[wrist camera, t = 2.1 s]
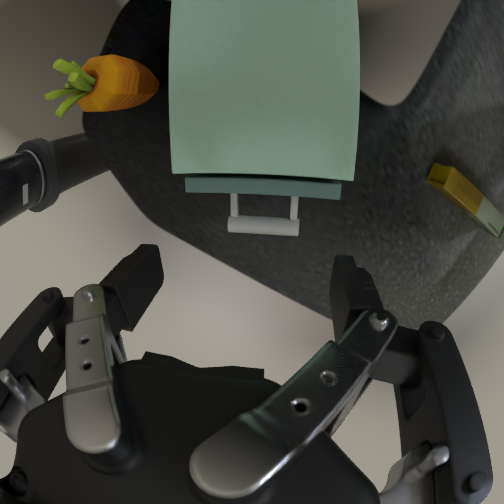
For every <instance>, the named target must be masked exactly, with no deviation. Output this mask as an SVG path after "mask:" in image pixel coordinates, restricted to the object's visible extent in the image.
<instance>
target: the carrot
mask: <svg viewBox="0 0 504 504" xmlns="http://www.w3.org/2000/svg"><path fill="white" fill-rule="evenodd" d="M52 67H53V68H54V69H56V70H58V71H59V72H61V73H64V74H66V75H68V76H69V77H68V81H67V82H66V83H65V87H66V88H65V89H59V90H55V91H52V92H49V93H47V94H45V98H46V100H47V101H49V100H52V99H54V98H57V97H61V96H64V95H68V94H72V93H73V95H72V96H71V97H69V98H68V99H66V100H65V101H64V102H63V103H62V104H61V105H60V106H59V107H58V109H57V111H56V112H55V115H56V116H57V117H60V118H61V117H62V115H63V114H64V113H65V112H66V111H67V110H68V109H69V108H70V107H71V106H72V105H73V104H74V103H76V102H77V103H78V104H79V106H80V107H81V109H82V110H83V111H85V112H99V111H113V110H120V109H126V108H132V107H134V106H137V105H140V104H142V103H144V102H146V101H147V100H149V99H150V98H151V97H152V96H153V95H154V94H156V93H157V92H158V90H159V81H158V80H157V78H156V77H155V76H154V74H153V73H152V72H151V71H150V70H149V69H148V68H147V67H145V66H144V65H142V64H141V63H139V62H137V61H134V60H131V59H128V58H125V57H121V56H117V55H106V56H99V57H93V58H90V59H89V60H88V61H87V62H86V63H85V65H84V66H83V67H82V68H80V67H79V66H78V64H77V63H76V62H74V61H72V62H71V63H69V62H67V61H65V60H62V59H58V60H57V61H56V62H55V63H54V65H53V66H52Z"/></svg>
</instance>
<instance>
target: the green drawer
mask: <svg viewBox="0 0 504 504" xmlns="http://www.w3.org/2000/svg"><path fill="white" fill-rule="evenodd" d="M341 187H342V185H341V183H340V182H339V180H338V179H328V178H316V177H303V176H288V175H270V174H242V173H191V174H190V175H188V176H187V177H185V188H186V192H194V193H230V201H231V215H229V218H228V231H229V232H238V233H255V234H271V235H287V236H298V233H299V219H297V212H298V198H299V197H311V198H323V199H335V200H340V195H341ZM238 193H239V194H263V195H281V196H291V206H290V218H280V217H263V216H244V215H238V214H239V199H238Z"/></svg>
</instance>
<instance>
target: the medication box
mask: <svg viewBox="0 0 504 504" xmlns="http://www.w3.org/2000/svg"><path fill="white" fill-rule="evenodd" d="M426 182H427V183H428V184H430V185H431V186H432V187H433V188H435V189H436V190H437V191H438V192H440V193H441V194H442V195H443V196H445V197H446V198H447V199H448V200H449V201H451V202H452V203H453V204H454V205H455V206H457V207H458V208H459V209H460V210H461V211H462V212H463V213H464V214H466V215H467V216H468V217H469V218H470V219H471V220H472V221H473V222H474V223H475V224H476V225H478V226H479V227H480V228H481V229H483V230H484V231H486V232H487V233H489V234H491V235H493V236H495V237H497V238H500V237H501V235H502V233H503V231H504V217H503V216H502V215H501V214H500V213H499V211H498V210H497V209H496V208H495V207H494V206H493V205H492V204H491V203H490V201H489V200H488V199H487V198H486V197H485V196H484V195H483V194H482V193H481V192H480V191H479V190H478V189H477V188H476V187H475V186H474V185H473V184H472V183H471V182H470V181H469V180H468V179H467V178H466V177H465V176H463V175H462V174H461V173H460V172H459V171H458V170H457V169H456V168H455V167H453V166H449V165H445V164H440V163H434V164H433V166H432V168H431V170H430V172H429V175H428V177H427V180H426Z"/></svg>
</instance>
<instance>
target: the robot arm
mask: <svg viewBox="0 0 504 504" xmlns="http://www.w3.org/2000/svg"><path fill="white" fill-rule="evenodd" d="M46 185H47V182H46V173H45V168H44V165H43V163H42V160H41V158H40V157H39V155H38V154H37V153H36V152H35V151H33V150H31V149H26V150H23V151H21V152H19V153H16V154H13V155H11V156H8V157H5V158H3V159H0V226H2V225H3V224H5V223H6V222H8V221H9V220H11V219H13V218H14V217H16V216H18V215H19V214H21V213H23V212H24V211H26V210H28V209H30V208H31V207H34V206H36V205H38V204H39V203H41V202H42V200H43V198H44V196H45V193H46ZM163 280H164V273H163V268H162V262H161V258H160V252H159V248H158V246H157V245H153V244H141V245H140V246H139V247H138V248H137V249H136V250H135V251H134V252H133V253H132V254H130V255H128V256H126V257H125V258H123V259H122V260H121V261H120V262H119V263H118V264H117V265H116V266H115V268H113V270H111V271H110V272H109V274H108V275H107V276H106V277H105V278H104V279H103V280H102V281H101V282H100V283H99V284H90V285H86V286H84V287H82V288H80V289H79V290H78V291H77V292H76V293H75V295H74V297H63V295H62V293H61V290H60V289H59V288H57V287H52V288H48V289H46V290H44V291H42V292H41V293H40V294H39V295H38V296H37V297H36V298H35V299H34V300H33V301H32V302H31V303H30V304H29V306H28V307H27V308H26V309H25V310H24V311H23V312H22V313H21V314H20V316H19V317H18V318H17V319H16V320H15V321H14V323H13V324H12V325H11V326H10V327H9V329H8V330H7V331H6V332H5V334H4V335H3V336H2V337H1V339H0V431H1V432H3V433H4V434H6V435H7V436H8V437H9V438H10V439H12V440H13V441H14V442H17V449H16V456H15V461H14V465H13V468H12V470H11V472H10V473H9V474H8V475H7V476H6V477H4V478H2V479H0V504H479V503H481V502H482V501H483V500H484V499H485V498H486V497H487V495H488V494H489V492H490V490H491V487H492V483H493V474H492V466H491V460H490V454H489V449H488V444H487V439H486V434H485V431H484V426H483V422H482V418H481V415H480V411H479V407H478V404H477V401H476V397H475V394H474V392H473V388H472V386H471V382H470V379H469V376H468V374H467V371H466V368H465V366H464V363H463V360H462V358H461V355H460V353H459V350H458V348H457V346H456V343H455V341H454V338H453V336H452V334H451V332H450V331H449V329H448V328H447V327H446V326H444V325H443V324H441V323H439V322H435V321H427V322H424V323H423V324H422V325H421V326H420V328H419V330H414V329H409V328H405V327H402V326H399V325H398V321H397V319H396V317H395V316H394V315H393V314H392V313H390V312H389V311H387V310H384V308H383V305H382V302H381V300H380V297H379V294H378V292H377V290H376V287H375V284H374V282H373V279H372V277H371V274H369V273H368V272H367V271H366V270H365V269H364V268H357V266H356V263H355V261H354V258H353V256H344V255H336V256H335V259H334V264H333V271H332V277H331V282H330V290H329V299H330V306H331V313H332V320H333V327H334V335H335V342H334V341H332V340H330V341H328V342H327V343H326V344H325V345H324V346H323V347H322V348H321V349H320V350H319V351H318V352H317V353H316V354H315V355H314V356H313V357H312V358H311V359H310V360H309V361H308V362H307V363H306V364H305V365H304V366H303V367H302V368H301V369H300V370H299V371H297V373H295V374H294V375H293V376H292V377H291V378H290V379H289V380H288V381H287V382H286V383H284V384H283V385H282V386H281V385H279V384H278V383H275V382H273V381H271V380H268V379H265V378H264V369H258V368H247V367H238V366H224V367H208V368H198V367H195V366H193V365H190V364H188V363H186V362H183V361H181V360H178V359H176V358H174V357H172V356H166V355H161V354H156V353H151V352H147V351H146V352H145V354H144V356H143V358H142V359H141V360H131V361H127V358H126V354H125V350H124V346H123V341H122V337H121V335H120V331H121V330H127V331H131V332H132V331H133V329H134V328H135V326H136V325H137V323H138V322H139V320H140V318H141V317H142V315H143V314H144V312H145V311H146V309H147V308H148V306H149V304H150V303H151V301H152V300H153V298H154V297H155V295H156V294H157V292H158V291H159V289H160V288H161V286H162V284H163ZM47 326H48V327H49V329H50V331H51V333H52V335H53V338H52V339H51V341H50V342H49V344H48V345H47V346H46V348H45V349H44V351H43V352H41V350H40V349H39V347H38V339H39V337H40V335H41V334H42V333H43V331H44V330H45V329H46V328H47ZM65 369H66V383H67V384H66V385H67V390H66V392H64V393H63V394H61V395H59V396H57V397H55V398H53V399H51V400H49V401H48V399H49V397H50V395H51V393H52V391H53V390H54V388H55V386H56V385H57V383H58V381H59V379H60V378H61V376H62V374H63V373H64V371H65ZM373 379H375V380H379V381H384V382H388V383H392V384H393V385H394V392H395V397H396V405H397V413H398V420H399V430H400V440H401V452H402V458H401V459H400V460H399V461H397V462H396V463H395V464H394V465H393V466H392V467H391V469H390V471H389V474H388V480H387V484H386V486H385V488H384V489H383V490H382V492H381V493H378V491H377V489H376V487H375V486H374V484H373V483H372V482H371V481H370V480H369V479H368V477H367V476H366V475H364V473H363V472H362V471H361V470H360V469H359V468H358V467H357V466H356V465H355V464H354V463H353V462H352V461H351V460H350V458H348V457H347V455H346V454H345V453H344V452H343V451H342V450H341V449H340V448H339V446H338V445H337V444H336V443H335V442H334V441H333V440H332V439H331V436H332V435H333V434H334V433H335V431H336V430H337V429H338V427H339V426H340V425H341V424H342V422H343V421H344V420H345V418H346V416H347V415H348V414H349V412H350V411H351V410H352V408H353V407H354V406H355V404H356V403H357V401H358V400H359V399H360V398H361V396H362V395H363V393H364V392H365V391H366V389H367V388H368V386H369V385H370V383H371V382H372V380H373Z"/></svg>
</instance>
